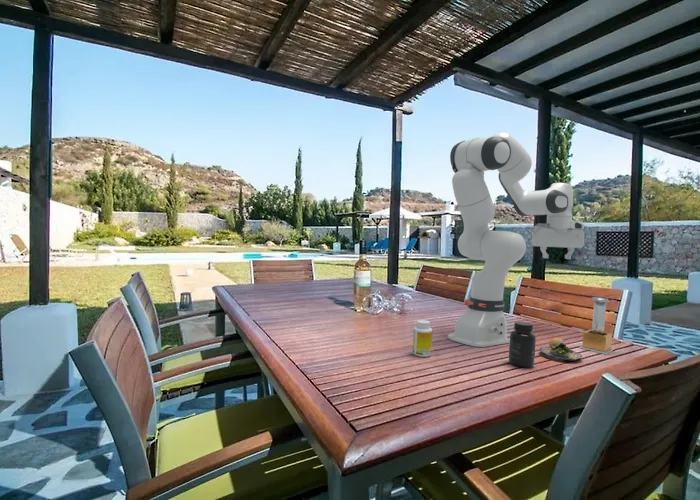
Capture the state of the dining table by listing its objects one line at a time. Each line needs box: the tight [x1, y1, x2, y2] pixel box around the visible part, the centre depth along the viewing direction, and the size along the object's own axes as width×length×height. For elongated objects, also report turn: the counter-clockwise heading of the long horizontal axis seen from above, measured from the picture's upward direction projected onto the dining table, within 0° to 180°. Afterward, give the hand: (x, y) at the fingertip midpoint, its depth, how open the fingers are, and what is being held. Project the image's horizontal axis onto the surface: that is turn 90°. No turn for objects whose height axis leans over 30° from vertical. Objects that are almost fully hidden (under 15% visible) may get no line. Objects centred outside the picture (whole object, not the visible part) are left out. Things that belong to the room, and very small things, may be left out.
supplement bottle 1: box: [412, 319, 433, 358], centre depth 114 cm, size 6×6×10 cm
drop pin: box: [591, 296, 610, 336], centre depth 127 cm, size 5×5×17 cm
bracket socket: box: [578, 328, 615, 355], centre depth 127 cm, size 8×8×6 cm
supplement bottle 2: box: [508, 321, 537, 369], centre depth 108 cm, size 7×7×12 cm
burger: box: [538, 332, 583, 363], centre depth 117 cm, size 12×12×8 cm
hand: (556, 258), depth 150 cm, fingers open, 8 cm apart
